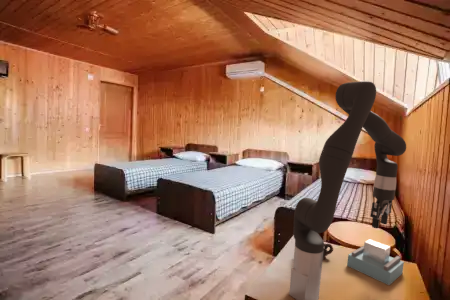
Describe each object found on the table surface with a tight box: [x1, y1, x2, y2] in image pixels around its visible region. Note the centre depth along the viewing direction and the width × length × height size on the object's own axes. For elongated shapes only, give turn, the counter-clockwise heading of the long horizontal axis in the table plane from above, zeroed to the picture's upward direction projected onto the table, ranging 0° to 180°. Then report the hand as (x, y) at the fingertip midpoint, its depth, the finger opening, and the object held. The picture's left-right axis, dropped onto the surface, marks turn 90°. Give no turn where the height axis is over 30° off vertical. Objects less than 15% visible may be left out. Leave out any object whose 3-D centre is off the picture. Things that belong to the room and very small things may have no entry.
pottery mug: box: [323, 243, 334, 260], centre depth 118 cm, size 12×10×8 cm
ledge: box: [346, 245, 405, 286], centre depth 108 cm, size 14×16×6 cm
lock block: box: [363, 238, 391, 264], centre depth 107 cm, size 5×8×6 cm, turn 39°
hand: (379, 225), depth 106 cm, fingers open, 8 cm apart
